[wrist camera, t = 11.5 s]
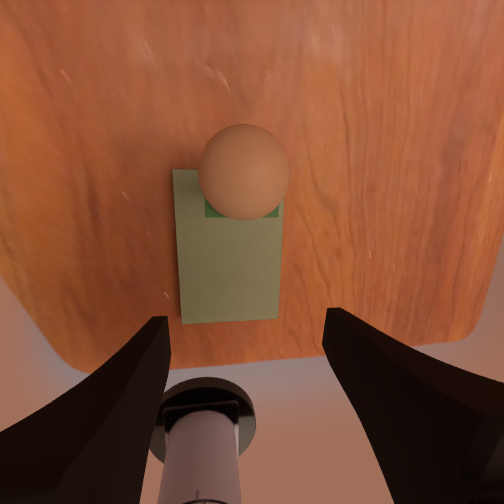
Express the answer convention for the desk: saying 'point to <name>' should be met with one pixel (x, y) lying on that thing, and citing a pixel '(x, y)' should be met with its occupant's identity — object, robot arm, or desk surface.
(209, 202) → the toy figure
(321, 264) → the desk surface
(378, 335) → the robot arm
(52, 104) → the desk surface
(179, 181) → the toy stand
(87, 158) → the desk surface
